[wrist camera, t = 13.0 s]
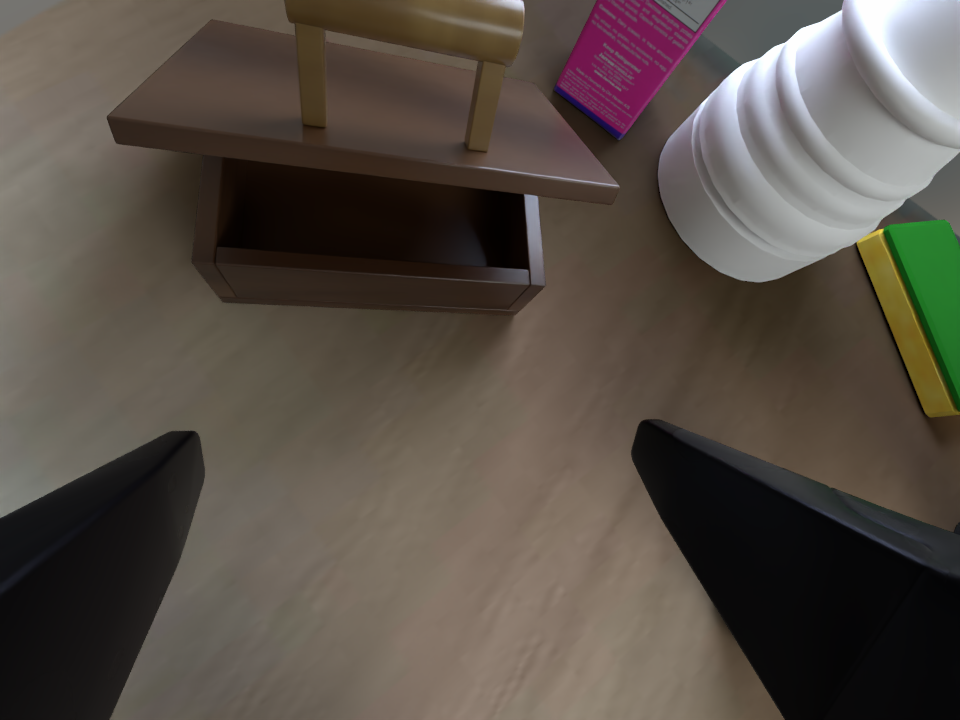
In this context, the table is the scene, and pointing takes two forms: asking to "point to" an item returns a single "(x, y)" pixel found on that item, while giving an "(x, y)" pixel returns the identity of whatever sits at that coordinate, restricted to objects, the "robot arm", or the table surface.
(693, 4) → the supplement box
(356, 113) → the lid
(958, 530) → the drinking cup
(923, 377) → the dish sponge
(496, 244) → the tea box
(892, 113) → the honey pot
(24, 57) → the table surface
